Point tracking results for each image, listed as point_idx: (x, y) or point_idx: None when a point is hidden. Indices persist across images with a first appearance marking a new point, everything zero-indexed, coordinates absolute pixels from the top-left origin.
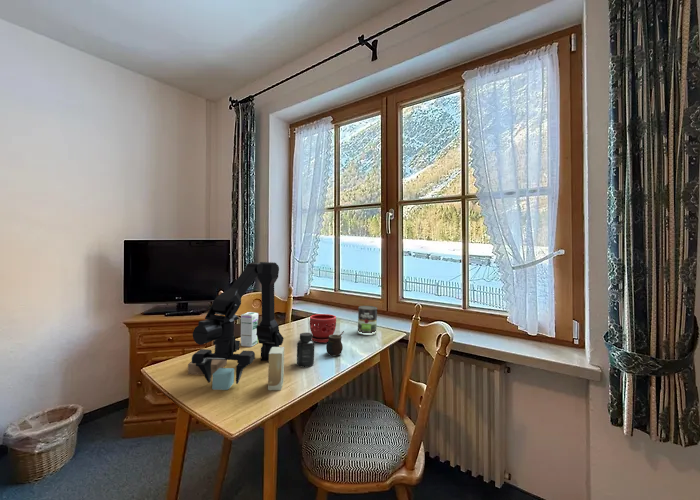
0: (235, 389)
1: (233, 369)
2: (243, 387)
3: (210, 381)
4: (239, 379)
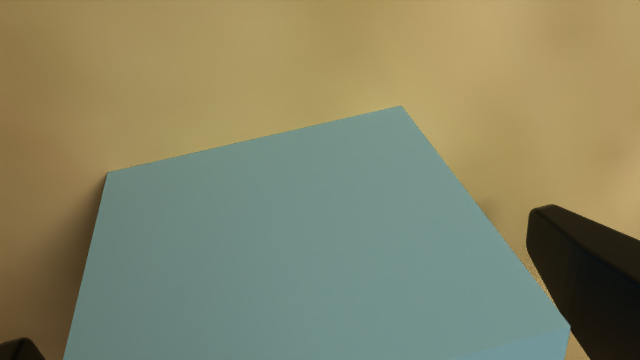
0: None
1: (554, 355)
2: (605, 189)
3: (31, 346)
4: (601, 238)
